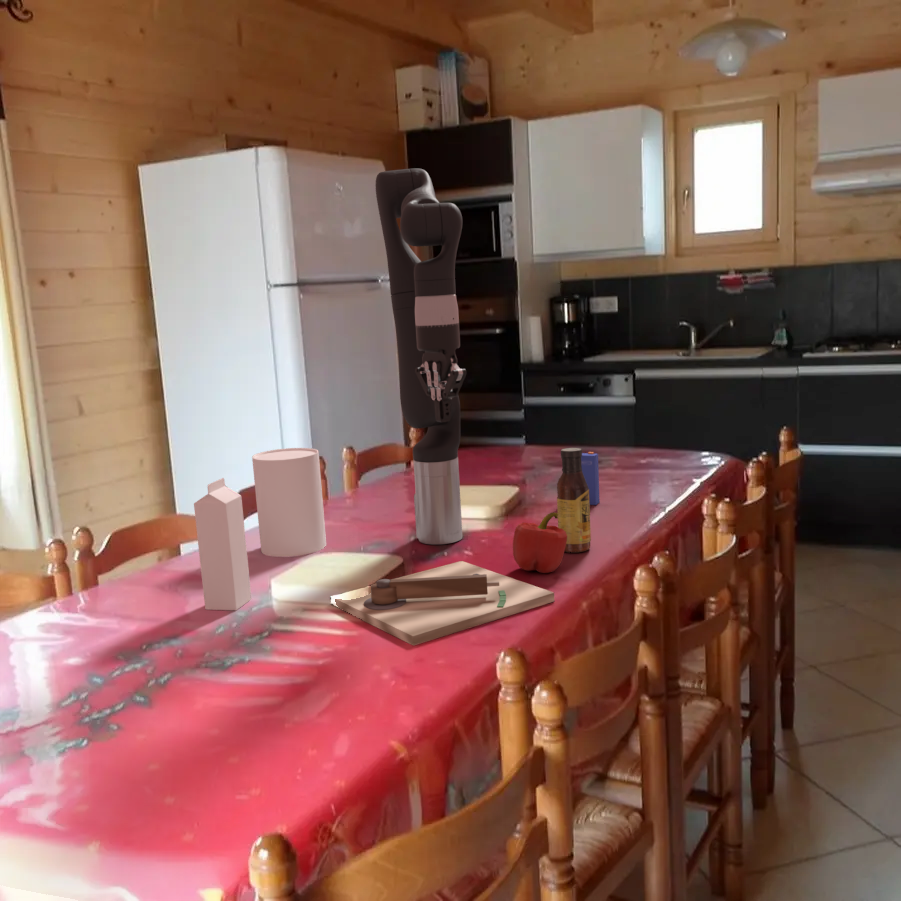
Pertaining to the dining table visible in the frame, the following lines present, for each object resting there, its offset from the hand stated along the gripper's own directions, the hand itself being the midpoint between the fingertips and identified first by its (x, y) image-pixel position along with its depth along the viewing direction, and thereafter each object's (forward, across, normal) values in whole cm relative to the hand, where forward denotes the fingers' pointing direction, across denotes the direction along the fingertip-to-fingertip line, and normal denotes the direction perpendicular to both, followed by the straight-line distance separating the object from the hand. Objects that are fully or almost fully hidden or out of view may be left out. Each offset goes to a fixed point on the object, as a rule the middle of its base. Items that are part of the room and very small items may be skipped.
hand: (443, 421), depth 171 cm
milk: (+29, +17, +36) cm, 49 cm away
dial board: (+29, -9, +9) cm, 32 cm away
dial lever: (+27, -11, +11) cm, 31 cm away
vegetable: (+29, -7, -15) cm, 34 cm away
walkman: (+29, +25, -55) cm, 67 cm away
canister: (+29, +42, +11) cm, 52 cm away
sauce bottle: (+29, -2, -28) cm, 41 cm away
